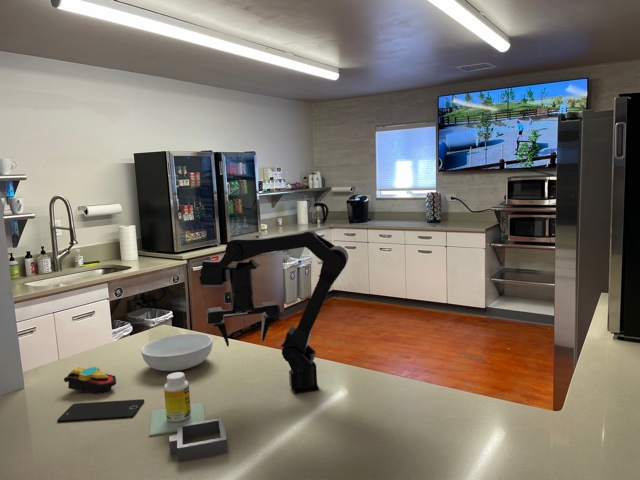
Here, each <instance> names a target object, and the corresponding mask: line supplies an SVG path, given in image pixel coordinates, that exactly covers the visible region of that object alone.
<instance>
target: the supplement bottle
mask: <svg viewBox="0 0 640 480" xmlns="http://www.w3.org/2000/svg"><path fill="white" fill-rule="evenodd" d="M189 383H190V382H188V380H187V379H186V377H185V373H184V372H182V371H181V372H180V371H175V372H172V373H170V374H168V375H167V376H166V383H165V384H164V385H163V390H164V391H163V392H164V402H165V403H164V404H165V405H164V406H165V408H166V417H167V419H168V420H169V421H171V422H179V421H183V420H185V419H187V418H188V417H189V416H190V415H191V407H190V404H191V396H190V394H191V392H190V384H189Z"/></svg>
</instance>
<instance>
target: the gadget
mask: <svg viewBox="0 0 640 480" xmlns="http://www.w3.org/2000/svg"><path fill="white" fill-rule="evenodd" d="M63 381H64V382H65V383H68V387H67V388H68V389H69V390H74V391H77V392H81V393H82V392H84V393H85V392H86V393H90V394H96V395H101V394H106V393H109V392H111V391H112V387H114V386H115V385H117V378H116V375H113V374H109V373H108V374H107V373H104V372H102V371H100V367H97V366H90V367H87V368H85V367H80V366H78V367H76V368H75V369H73V370H72V371H70V372H69V373H68V374H67V376H65V377H64V378H63Z"/></svg>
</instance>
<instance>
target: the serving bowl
mask: <svg viewBox="0 0 640 480" xmlns="http://www.w3.org/2000/svg"><path fill="white" fill-rule="evenodd" d="M213 342H214V341H213V338H212V337H211V336H209V335H208V334H204V333H195V332H194V333H178V334H173V335H168V336H164V337H160V338H157V339H154V340H152V341H150V342H148V343H146V344H144V345H143V346H142V347H141V348H140V353H141V356H142V359H143V361H144V362H145V364H147V366H149V367H150V368H152V369H155V370H156V371H163V372H174V371H175V372H180V371H184V370H187V369H190V368H192V367H195V366H198V365H200V364H201V363H203V362H204V361H205V360H206V359H207V358H208V357H209V356H210V354H211V351H212V349H213Z"/></svg>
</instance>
